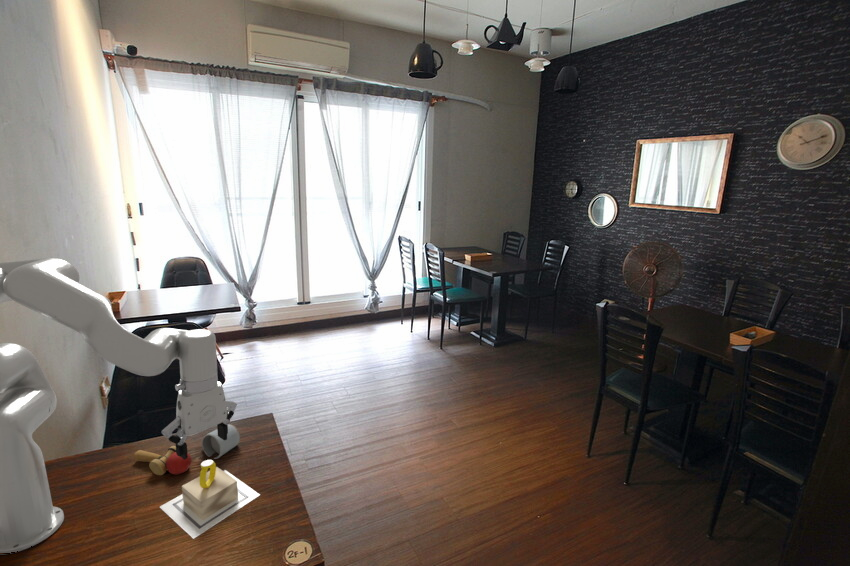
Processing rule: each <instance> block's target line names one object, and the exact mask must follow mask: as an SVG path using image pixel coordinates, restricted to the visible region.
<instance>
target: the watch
mask: <svg viewBox="0 0 850 566" xmlns="http://www.w3.org/2000/svg"><path fill="white" fill-rule="evenodd" d="M216 467H217V465H216V462H215V461H214V460H212V459H207V460H206V459H205V460H203V461H202V462H201V463H200V468H201V470H200V473H199V476H200V478H199V481H200V486H201V488H209V487H210V485H211V483H212V482H213V480H214V478H215V474H216ZM208 471H210V474H209V478H208V480H207V482H206V474H207V472H208Z"/></svg>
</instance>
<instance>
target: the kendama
mask: <svg viewBox="0 0 850 566" xmlns="http://www.w3.org/2000/svg"><path fill="white" fill-rule="evenodd" d="M187 455H188V458H187V459H185V460H184V459H183V458H181V457H180V456H178V455H177V454H176V445H171V446H170V447H168V449H167V452H166V454H164V455H162V454H161V455H160V454H158V453H155V452H151V451H150V452H149V451H145V450H142V449H139V450H137V451H135V452H134V455H133V460H134V461H135V462H143V463H144V462H147V463H149V464H148V465H149V469H150V470H151V472H152V473H153V474H155V475H156V476H163V475H165V473H166V472H169V474H172V475H181V474H183V473H185V472H187V471H188V469H190V466H191V465H192V457H191V455H190V453H188V452H187Z"/></svg>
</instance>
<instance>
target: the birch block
mask: <svg viewBox="0 0 850 566" xmlns="http://www.w3.org/2000/svg"><path fill="white" fill-rule="evenodd" d="M209 474H210V470H207V474H206V482H207V480H208V478H209ZM199 478H200V475H199V476H198V477H196V478H194V479H192V480H190V481H188V482H187V483H184V484H183V485H181V492H182V494H183V503H184V504H185V505H186V506H187V507H188V508H189V509H191V510H192V511H193V512H194V513H195V514H196V515H197V516H199V517H200V518H201V519H202V520H204V519H206V518H207V517H209V516H211V515H212V514H214V513H215V512H217V511H218V510H220V509H222V508H223V507H225V506H226V505H228V504H229V503H231V502H233V501H234V500H236V499H237V498H238V489H237V481H236V480H235V479H233V478H232V477H231V476H229V475H228V474H226V473H225V472H224V470H222V469H221V468H219V467H218V466H216V474H215V478H214V480H213V482H212V483H211V485H210V487H209V488H201V486H200V481H199Z"/></svg>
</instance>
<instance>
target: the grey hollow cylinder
mask: <svg viewBox="0 0 850 566" xmlns="http://www.w3.org/2000/svg"><path fill="white" fill-rule="evenodd" d="M240 441H241V434H240V431H239V428H238V427H236V425H234V424H231V423H229V424H228V434H227V440H223V439H221V438H220V437H218V430H217V428H216V429H214V430H212V431H211V432H209V433H206V434H205V435H204V436H203V437H202V439H201V447H202V451H203V452H204V453H205V455H206V456H207V457H209V458H211V457H212V456H213V455H214V454H216V453H217V454H218V455H217V456H215V457H213V459H215V460H218V459H219V458H221V457H222V456H223V455H225V454H226V453H228V452H229V451H231V450H232V449H234V448H235V447H237V445H238V444H239V443H240Z"/></svg>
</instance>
